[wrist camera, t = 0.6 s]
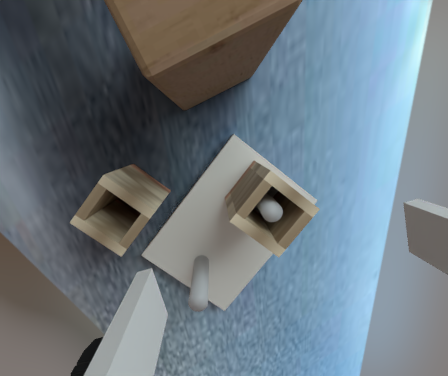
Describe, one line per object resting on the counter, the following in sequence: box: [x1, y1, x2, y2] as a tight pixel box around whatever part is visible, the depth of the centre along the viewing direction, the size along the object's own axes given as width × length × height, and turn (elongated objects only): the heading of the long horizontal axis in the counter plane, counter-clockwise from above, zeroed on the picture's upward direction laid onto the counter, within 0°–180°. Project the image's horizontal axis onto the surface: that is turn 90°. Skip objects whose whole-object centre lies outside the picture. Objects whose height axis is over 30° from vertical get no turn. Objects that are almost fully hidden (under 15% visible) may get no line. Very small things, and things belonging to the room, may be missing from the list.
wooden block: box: [104, 0, 302, 110], centre depth 24 cm, size 10×10×20 cm
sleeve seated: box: [225, 161, 320, 257], centre depth 30 cm, size 6×6×10 cm
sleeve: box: [70, 164, 171, 257], centre depth 31 cm, size 6×6×10 cm
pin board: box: [141, 134, 317, 311], centre depth 32 cm, size 14×20×11 cm
